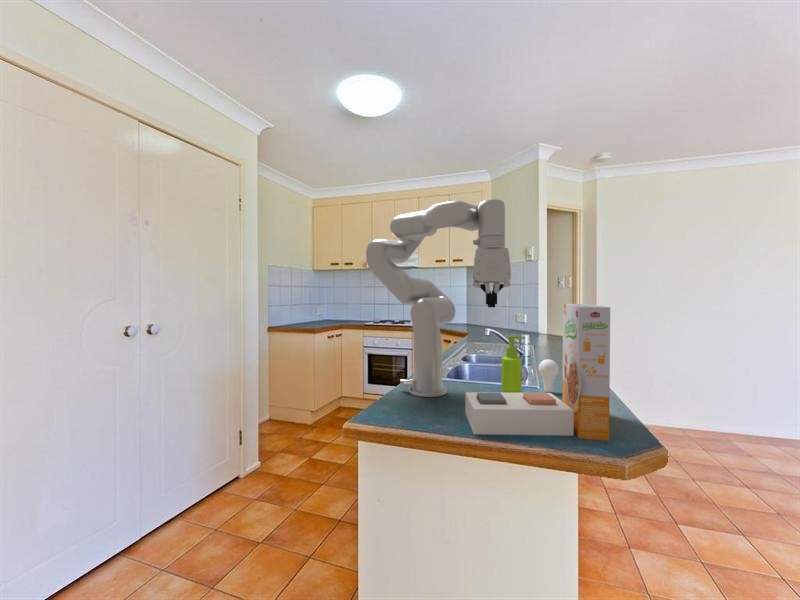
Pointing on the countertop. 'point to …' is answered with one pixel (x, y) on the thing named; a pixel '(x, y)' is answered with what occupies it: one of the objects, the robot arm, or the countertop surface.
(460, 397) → the countertop surface
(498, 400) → the key charcoal
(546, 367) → the lightbulb
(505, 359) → the soap dispenser
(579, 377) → the cereal box
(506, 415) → the key panel
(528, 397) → the key terracotta
